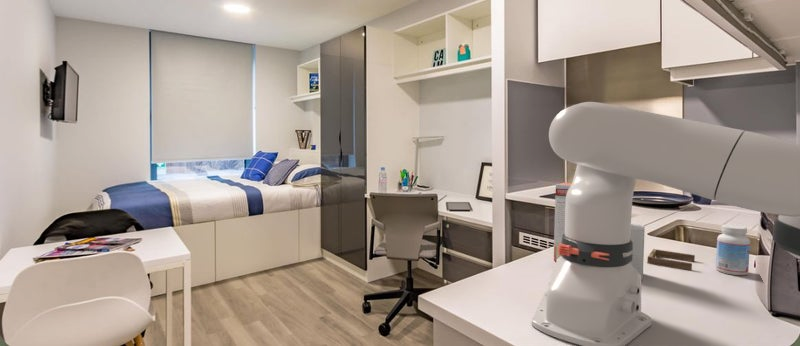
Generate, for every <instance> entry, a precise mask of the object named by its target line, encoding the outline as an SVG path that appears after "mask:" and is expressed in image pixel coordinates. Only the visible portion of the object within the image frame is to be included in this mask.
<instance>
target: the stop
mask: <svg viewBox="0 0 800 346" xmlns="http://www.w3.org/2000/svg"><path fill="white" fill-rule="evenodd" d="M660 257H661V258H660ZM695 257H696V256H695V254H689V253H682V252H678V251H670V250H663V249H662V250H661V249H655V248H653V249H652V250H651V252H650V253H649V254H648V256H647V264H650V265H656V266H664V267H668V268H669V267H670V268H674V269H681V270H686V271H692V270H693V263H691V262H695ZM674 259H675V260H674ZM679 260H681V261H679ZM685 261H686V262H685Z"/></svg>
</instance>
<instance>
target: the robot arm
mask: <svg viewBox="0 0 800 346" xmlns="http://www.w3.org/2000/svg"><path fill="white" fill-rule="evenodd" d="M548 140H549V145H550V147H551V149H552V150H553V152H554V153H555V155H557V156H558V157H559V158H561V159H562V160H564V161H566V162H569V163H571V164H575V165H576V167H575V172H574V175H573V179H572V182H571V183H572V184H571V186H570V188H569V189H568V191H567V194H566V205H565V233H564V234H563V235H562V240H561V244H559V247H558V253H559V255H561V257H559V258H558V259H557V260H556V261H555V262H556V264H555V266H554V269H553V272H552V274H551V278H550V281H549V283H548V286H547V287H548V288H547V290H546V291H545V292H544V293H543V295H542V297H541V299H540V302H539V303H538V306H537V307H536V310H535V312H534V314H533V316H532V319H531V326H532V327H534V328H535V329H537V330H538V331H540V332H542V333H544V334H546V335H549V336H551V337H554V338H557V339H559V340H561V341H565V342H567V343H568V342H569V343H571V344H575V345H579V346H626V345H628V344H629V343H630V342H632V340H634V339H636V338H637V337H638V336H639V335H641V334H642V333H643V332H644V331H645V330H646V329H648V328H649V327H650V326H652V324H653V323H652V316H649V315H648V314H646V313H644V312H643V311H642V281H641V275H640V274H639V273H638V272H637V271H636V270H635V269H634V267H633V266H632V264H631V261H632V256H633V242H632V240H631V239H630V234H631V224H632V213H633V211H632V210H633V200H634V199H633V197H634V191H635V187H636V183H637V180H641V181H647V182H650V183H654V184H658V185H662V186H665V187H669V188H672V189H675V190H678V191H683V192H685V193H688V194H692V195H696V196H699V197H701V198H704V199H709V200H711V201H715V202H719V203H722V204H725V205H729V206H733V207H737V208H741V209H746V210H751V211H755V212H760V213H766V214H769V215H770V214H771V215H777V216H778V218H775V219H774V222H773V227H772V240H773V242H775V244H776V245H777V247H779V248H781V249H782V250H784V251H786V252H787V253H788V254H789V255H791V256H793V257H795V258H796V259H798V260H800V144H797V143H794V142H791V141H789V140H784V139H781V138H777V137H774V136H771V135H767V134H762V133H758V132H755V131H748V130H744V129H738V128H733V127H728V126H724V125H718V124H713V123H708V122H703V121H697V120H694V119H693V120H692V119H689V118H682V117H677V116H671V115H666V114H662V113H654V112H649V111H644V110H638V109H632V108H631V107H627V106H623V105H618V104H610V103H603V102H597V101H596V102H595V101H585V102H580V103H577V104H572V105H571V106H568V107H565V108H564V109H562V110H561V111H559V113H557V114H556V116H554V118H553V119H552V121H551V123H550V126H549V129H548Z"/></svg>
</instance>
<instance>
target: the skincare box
mask: <svg viewBox="0 0 800 346" xmlns="http://www.w3.org/2000/svg"><path fill="white" fill-rule="evenodd" d="M630 239H631V240H632V242H633V256H632V261H631V264H632V266H633V267H634V269H635V270H636V271H637V272H638V273H639V274H640V275H641V282H642V281H643V279H644V259H645V258H644V257H645V255H644V254H645V225H644V224H637V223H631V234H630Z"/></svg>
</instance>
